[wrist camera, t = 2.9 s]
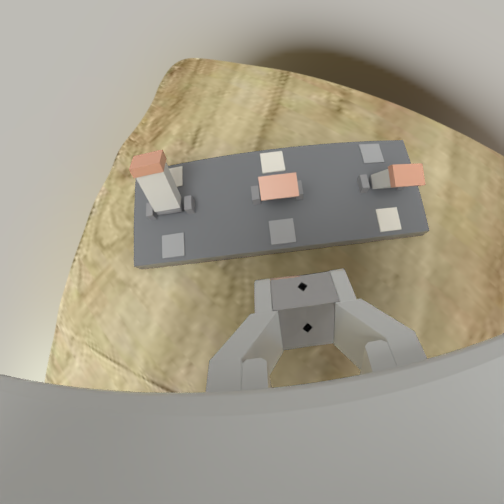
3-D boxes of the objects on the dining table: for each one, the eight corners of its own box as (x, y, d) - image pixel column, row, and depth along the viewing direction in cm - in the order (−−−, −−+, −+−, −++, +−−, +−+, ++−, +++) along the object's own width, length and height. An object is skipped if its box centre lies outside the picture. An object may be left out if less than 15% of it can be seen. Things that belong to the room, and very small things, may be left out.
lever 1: (184, 216, 33) (159, 162, 27) (157, 220, 34) (129, 169, 27) (185, 202, 34) (162, 149, 28) (159, 206, 35) (133, 156, 28)
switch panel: (422, 235, 33) (434, 226, 29) (141, 269, 35) (128, 264, 32) (398, 148, 35) (406, 134, 32) (142, 179, 38) (131, 167, 35)
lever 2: (393, 189, 32) (425, 185, 24) (368, 191, 33) (395, 186, 25) (391, 172, 32) (422, 163, 24) (366, 174, 32) (392, 164, 24)
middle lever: (292, 199, 33) (299, 195, 25) (263, 203, 33) (261, 200, 26) (290, 181, 33) (296, 172, 25) (261, 184, 33) (258, 176, 25)
